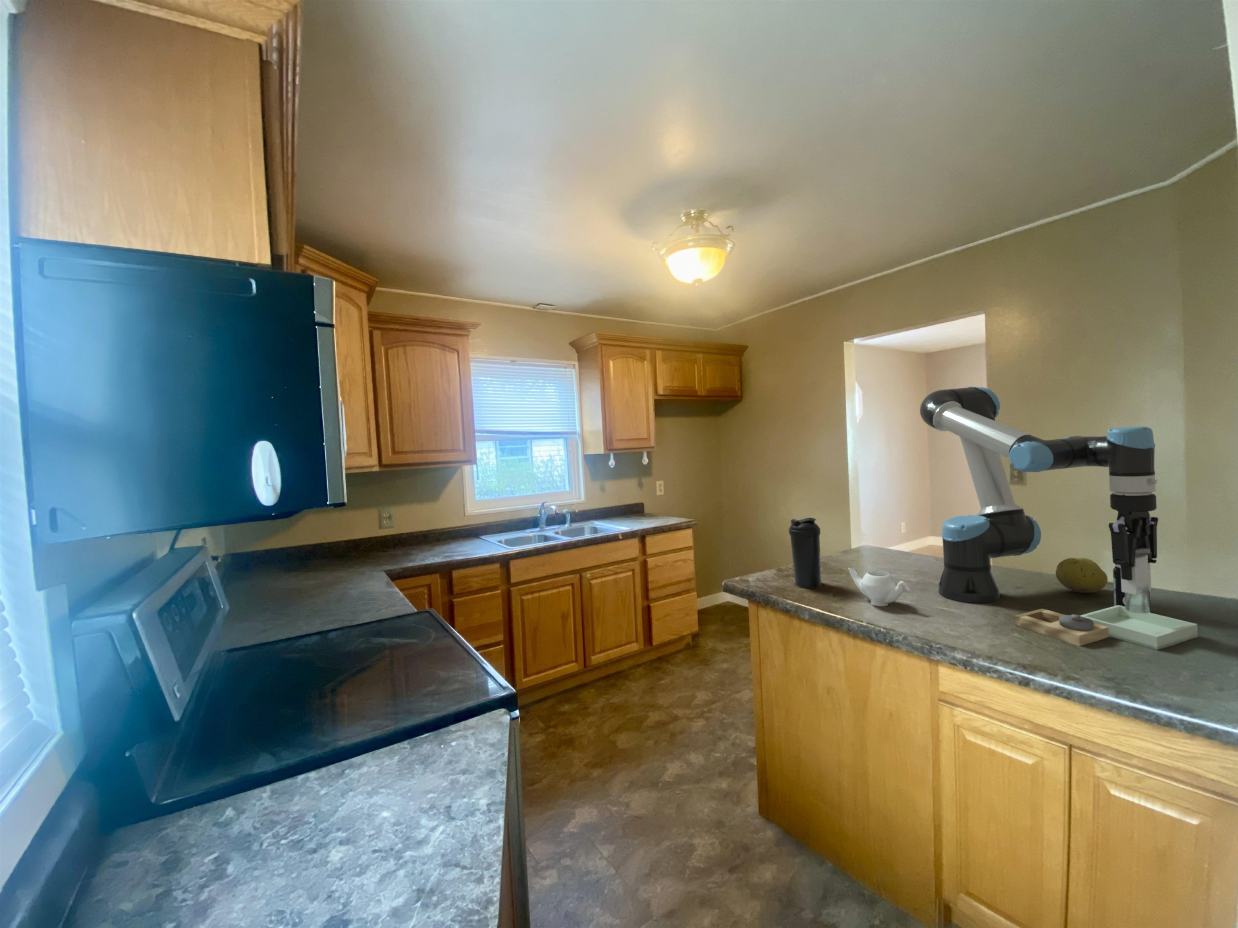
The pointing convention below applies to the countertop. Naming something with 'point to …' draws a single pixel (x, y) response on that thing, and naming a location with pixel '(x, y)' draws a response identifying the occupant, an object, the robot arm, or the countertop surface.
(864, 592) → the teapot
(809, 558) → the water bottle
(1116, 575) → the beverage can
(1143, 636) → the tray
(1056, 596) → the countertop surface
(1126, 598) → the pin
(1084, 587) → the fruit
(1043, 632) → the block
